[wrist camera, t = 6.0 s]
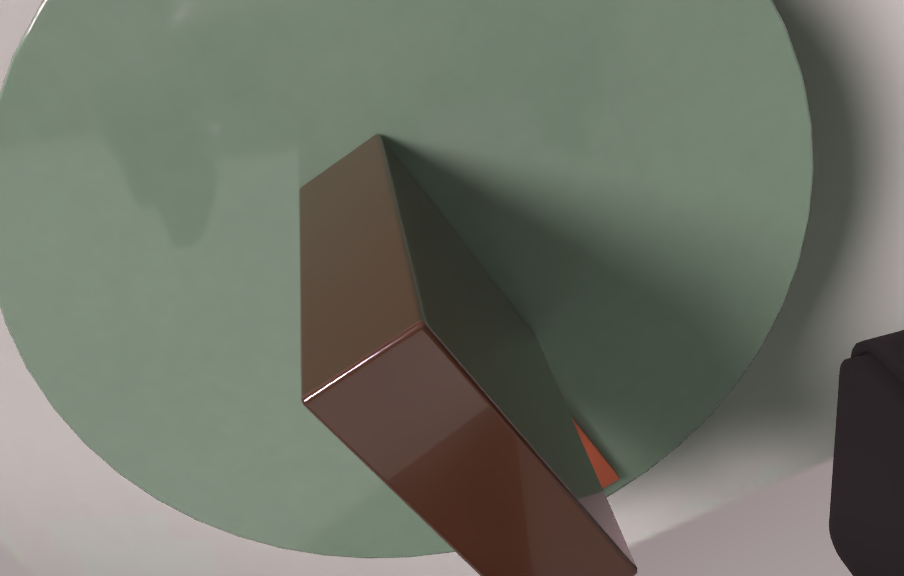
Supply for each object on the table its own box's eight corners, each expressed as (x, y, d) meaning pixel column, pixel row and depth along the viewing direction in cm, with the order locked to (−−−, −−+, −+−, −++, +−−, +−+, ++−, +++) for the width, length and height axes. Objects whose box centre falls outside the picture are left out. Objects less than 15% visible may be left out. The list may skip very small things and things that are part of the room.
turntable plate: (-203, 174, 13) (-560, 456, 8) (555, -441, 11) (822, -670, 5) (344, 614, 20) (363, 932, 15) (883, 292, 18) (1151, 524, 12)
